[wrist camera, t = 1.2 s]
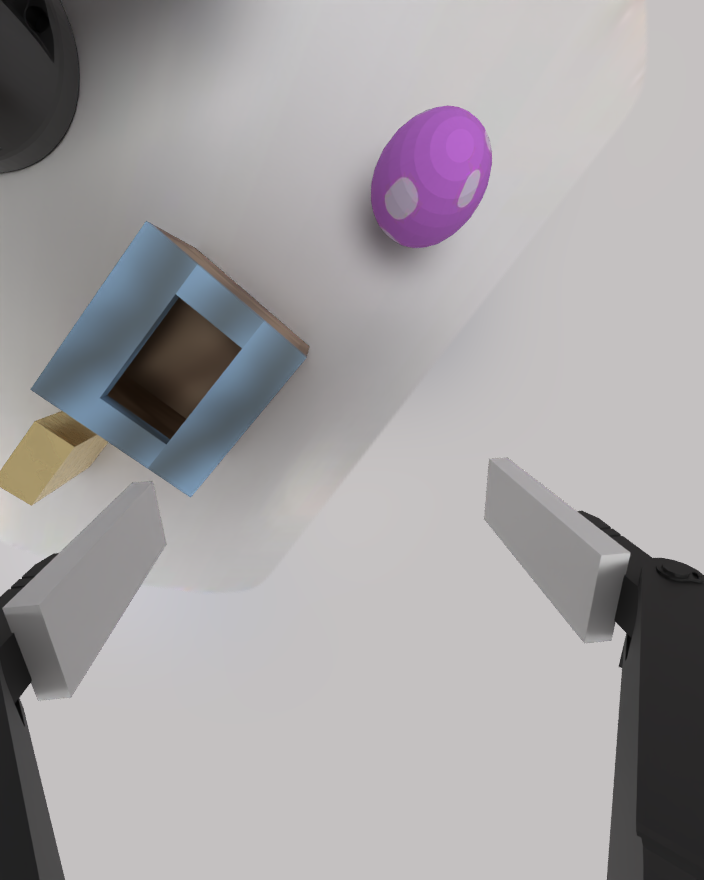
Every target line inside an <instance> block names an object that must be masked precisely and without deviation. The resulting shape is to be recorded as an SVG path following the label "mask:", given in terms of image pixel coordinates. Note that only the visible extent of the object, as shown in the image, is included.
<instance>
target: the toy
mask: <svg viewBox="0 0 704 880" xmlns="http://www.w3.org/2000/svg"><path fill="white" fill-rule="evenodd" d="M491 166H492V150H491V145H490V140H489V137H488V135H487V133H486V131H485V128H484V127H483V125H482V124H481V122H480V121H479V120H478V119H477V118H476V117H475V116H474V115H472V114H471V113H470V112H469V111H466V110H464V109H462V108H459V107H454V106H442V107H436V108H432V109H428V110H426V111H424V112H422V113H420V114H418V115H416V116H415V117H413V118H412V119H411V120H409V121H408V122H407V123H406V124H404V125H403V126H402V127H401V128H400V129H398V131H397V132H396V133H395V135H394V136H393V137H392V139H391V140H390V141H389V143H388V144H387V145H386V147H385V148H384V150H383V152H382V154H381V156H380V158H379V160H378V163H377V165H376V167H375V170H374V175H373V179H372V185H371V202H372V208H373V213H374V215H375V217H376V220H377V222H378V224H379V226H380V227H381V228H382V230H383V231H384V233H385V234H386V235H387V236H389V237H390V238H391V239H392V240H393V241H395V242H397V243H399V244H401V245H403V246H407V247H412V248H421V247H428V246H431V245H435V244H438V243H440V242H441V241H443V240H445V239H446V238H448V237H450V236H451V235H453V234H454V233H455V232H457V231H458V230H459V229H460V228H461V227H462V226H463V225H464V224H465V223H466V222H467V221H468V220H469V218H470V217H471V216H472V214H473V213H474V211H475V210H476V208H477V207H478V205H479V203H480V201H481V200H482V198H483V195H484V193H485V190H486V188H487V185H488V180H489V176H490V171H491Z"/></svg>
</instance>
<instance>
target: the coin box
mask: <svg viewBox="0 0 704 880" xmlns="http://www.w3.org/2000/svg"><path fill="white" fill-rule="evenodd" d="M308 350H309V346H308V345H307V344H306V343H305V342H304V341H302V340H301V339H300V338H299V337H298V336H297V335H295V334H294V333H293V332H292V331H291V330H290V329H288V328H287V327H286V326H285V325H284V324H283V323H282V322H280V321H279V320H278V319H277V318H276V317H275V316H273V315H272V314H271V313H270V312H269V311H268V310H266V309H265V308H264V307H263V306H262V305H261V304H260V303H258V302H257V301H256V300H255V299H254V298H253V297H251V296H250V295H249V294H248V293H247V292H246V291H245V290H243V289H242V288H241V287H240V286H239V285H238V284H236V283H235V282H234V281H233V280H232V279H231V278H229V277H228V276H227V275H226V274H225V273H224V272H223V271H221V270H220V269H219V268H218V267H217V266H216V265H214V264H213V263H212V262H211V261H210V260H209V259H207V258H206V257H205V256H204V255H203V254H202V253H201V252H199V251H198V250H197V249H196V248H194V247H192V246H191V245H189V244H187V243H185V242H183V241H181V240H180V239H178V238H176V237H174V236H172V235H171V234H169V233H167V232H165V231H163V230H162V229H160V228H158V227H156V226H154V225H153V224H151V223H149V222H147V221H146V222H145V224H144V225H143V226H142V228H141V229H140V231H139V232H138V234H137V235H136V237H135V238H134V240H133V241H132V242H131V244H130V245H129V247H128V248H127V250H126V251H125V253H124V254H123V256H122V257H121V258H120V260H119V261H118V263H117V264H116V266H115V267H114V269H113V270H112V272H111V273H110V274H109V276H108V277H107V279H106V280H105V282H104V283H103V285H102V286H101V288H100V289H99V290H98V292H97V293H96V295H95V296H94V298H93V299H92V301H91V302H90V304H89V305H88V306H87V308H86V309H85V311H84V312H83V314H82V315H81V317H80V318H79V320H78V321H77V323H76V324H75V325H74V327H73V328H72V330H71V331H70V333H69V334H68V336H67V337H66V339H65V340H64V341H63V343H62V344H61V346H60V347H59V349H58V350H57V352H56V353H55V355H54V356H53V357H52V359H51V360H50V362H49V363H48V365H47V366H46V368H45V369H44V371H43V372H42V373H41V375H40V376H39V378H38V379H37V381H36V382H35V384H34V385H33V387H32V388H31V389H30V390H32V391H33V392H35V393H36V394H38V395H39V396H41V397H42V398H44V399H45V400H47V401H48V402H50V403H51V404H53V405H54V406H56V407H57V408H59V409H60V410H62V411H63V412H65V413H66V414H68V415H69V416H70V417H72V418H73V419H75V420H76V421H78V422H79V423H81V424H82V425H84V426H85V427H87V428H88V429H90V430H91V431H93V432H94V433H96V434H97V435H99V436H100V437H102V438H103V439H105V440H106V441H108V442H109V443H111V444H112V445H114V446H115V447H117V448H118V449H120V450H121V451H122V452H124V453H125V454H127V455H128V456H130V457H131V458H133V459H134V460H136V461H137V462H139V463H140V464H142V465H143V466H145V467H146V468H148V469H149V470H151V471H152V472H154V473H155V474H157V475H158V476H160V477H161V478H163V479H164V480H166V481H167V482H169V483H170V484H172V485H173V486H174V487H176V488H177V489H179V490H180V491H182V492H183V493H185V494H186V495H188V496H189V497H191V496H192V495H193V494H194V493H195V492H196V490H197V489H198V488H199V487H200V486H201V484H202V483H203V482H204V481H205V480H206V478H207V477H208V476H209V475H210V474H211V472H212V471H213V470H214V469H215V467H216V466H217V465H218V464H219V463H220V461H221V460H222V459H223V458H224V457H225V455H226V454H227V453H228V452H229V451H230V449H231V448H232V447H233V446H234V445H235V443H236V442H237V441H238V440H239V439H240V437H241V436H242V435H243V434H244V433H245V431H246V430H247V429H248V428H249V426H250V425H251V424H252V423H253V422H254V420H255V419H256V418H257V417H258V416H259V414H260V413H261V412H262V411H263V410H264V408H265V407H266V406H267V405H268V404H269V402H270V401H271V400H272V399H273V398H274V396H275V395H276V394H277V393H278V392H279V390H280V389H281V388H282V387H283V385H284V384H285V383H286V382H287V381H288V379H289V378H290V377H291V376H292V375H293V373H294V372H295V371H296V370H297V369H298V367H299V366H300V365H301V364H302V363H303V361H304V360H305V359H306V358H307V354H308Z"/></svg>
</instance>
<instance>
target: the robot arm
mask: <svg viewBox="0 0 704 880" xmlns="http://www.w3.org/2000/svg"><path fill="white" fill-rule="evenodd" d="M78 89H79V66H78V57H77V50H76V45H75V41H74V37H73V33H72V30H71V27H70V24H69V21H68V18H67V16H66V13H65V11H64V9H63V6H62V4H61V2H60V0H0V172H9V171H14V170H18V169H22V168H25V167H27V166H29V165H32V164H34V163H35V162H37V161H39V160H40V159H42V158H43V157H45V156H46V155H47V154H48V153H50V152H51V151H52V150H53V149H54V148H55V147H56V145H57V144H58V143H59V142H60V140H61V139H62V137H63V136H64V134H65V133H66V131H67V129H68V127H69V125H70V123H71V120H72V117H73V114H74V111H75V107H76V103H77V98H78ZM484 519H485V521H486V522H487V523H488V524H489V526H490V527H491V528H492V529H493V531H494V532H495V533H496V534H497V536H498V537H499V538H500V539H501V540H502V541H503V543H504V544H505V546H506V547H507V548H508V549H509V551H510V552H511V553H512V554H513V555H514V557H515V558H516V559H517V560H518V561H519V563H520V564H521V565H522V567H523V568H524V569H525V570H526V571H527V573H528V574H529V575H530V577H531V578H532V579H533V580H534V582H535V583H536V584H537V585H538V586H539V588H540V589H541V590H542V591H543V593H544V594H545V595H546V596H547V598H548V599H549V600H550V601H551V603H552V604H553V605H554V606H555V608H556V609H557V610H558V611H559V613H560V614H561V615H562V616H563V617H564V619H565V620H566V621H567V622H568V624H569V625H570V626H571V627H572V629H573V630H574V631H575V632H576V634H577V635H578V636H579V637H580V639H581V640H582V641H583V642H584V643H593V642H602V641H611V640H612V635H613V631H614V626H615V622H616V623H617V624H618V625H619V626H620V627H621V628H622V629H623V630H624V631H625V632H626V638H625V642H624V646H623V651H622V655H621V659H620V664H619V667H621V668H622V678H621V692H620V707H619V720H618V733H617V747H616V762H615V776H614V789H613V803H612V817H611V830H610V845H609V858H608V859H609V860H608V872H607V880H704V575H702V573H700V572H699V571H698V570H696V569H694V568H692V567H690V566H688V565H686V564H684V563H681V562H677V561H675V560H670V559H665V558H652V557H650V556H649V555H648V554H646V553H645V552H643V551H642V550H641V549H640V548H638V547H637V546H636V545H634V544H633V543H631V542H630V541H629V540H627V539H626V538H625V537H623V536H621V535H620V534H619V533H618V532H616V531H615V530H614V529H611V527H610V526H608V525H607V524H606V523H604V522H603V521H602V520H600V519H599V518H597V517H595V516H593V515H590V514H588V513H586V512H583V511H576V510H574V509H573V508H572V507H571V506H569V505H568V504H567V503H565V502H564V501H563V500H562V499H560V498H559V497H558V496H556V495H555V494H554V493H553V492H551V491H550V490H549V489H547V488H546V487H545V486H544V485H542V484H541V483H540V482H538V481H537V480H536V479H535V478H533V477H532V476H531V475H529V474H528V473H527V472H525V471H524V470H523V469H522V468H520V467H519V466H517V465H516V464H515V463H514V462H513V461H511V460H510V459H509V458H492V459H489V466H488V478H487V491H486V504H485V516H484ZM165 546H166V540H165V535H164V530H163V526H162V521H161V516H160V511H159V507H158V502H157V497H156V493H155V488H154V483H153V481H151V482H136V483H131V484H130V485H129V486H128V487H127V488H126V489H125V490H124V491H123V492H122V493H121V494H120V495H119V496H118V497H117V498H116V499H115V500H114V501H113V502H112V503H111V504H110V505H109V506H108V507H107V508H105V509H104V510H103V511H102V512H101V513H100V514H99V515H98V516H97V517H96V518H95V519H94V520H93V521H92V522H91V523H90V524H89V525H88V526H87V527H86V528H85V529H84V530H83V531H82V532H81V533H80V534H79V535H77V536H76V537H75V538H74V539H73V540H72V541H71V542H70V543H69V544H68V545H67V546H66V547H65V548H64V549H63V550H62V551H61V552H60V553H57V554H52V555H51V556H49V557H47V558H46V559H44V560H42V561H41V562H39V563H37V564H35V565H34V566H33V567H32V568H31V569H30V570H29V571H28V572H27V573H26V574H25V575H23V577H22V579H19V580H18V581H17V582H16V583H15V584H14V585H13V586H12V587H11V589H9V590H7V591H6V592H5V593H4V594H3V595H2V596H1V597H0V880H65V878H64V874H63V870H62V865H61V861H60V857H59V853H58V849H57V845H56V841H55V837H54V832H53V828H52V824H51V820H50V816H49V812H48V808H47V804H46V799H45V795H44V791H43V787H42V783H41V779H40V775H39V770H38V766H37V762H36V758H35V754H34V750H33V746H32V742H31V738H30V733H29V729H28V725H27V721H26V717H25V713H24V709H23V706H22V704H21V701H20V699H19V697H20V696H21V695H22V693H23V692H24V690H25V689H26V688H27V687H28V685H29V684H30V683H31V684H32V686H33V689H34V692H35V694H36V697H37V700H38V701H41V700H50V699H60V698H70V697H72V695H73V694H74V692H75V690H76V689H77V687H78V685H79V684H80V682H81V681H82V679H83V678H84V676H85V674H86V673H87V671H88V669H89V668H90V666H91V665H92V663H93V661H94V660H95V658H96V657H97V655H98V653H99V652H100V650H101V649H102V647H103V645H104V643H105V642H106V641H107V639H108V637H109V636H110V634H111V633H112V631H113V629H114V628H115V626H116V624H117V623H118V621H119V620H120V618H121V616H122V615H123V613H124V612H125V610H126V608H127V607H128V605H129V603H130V602H131V600H132V599H133V597H134V595H135V594H136V592H137V591H138V589H139V588H140V586H141V584H142V583H143V581H144V580H145V578H146V576H147V575H148V573H149V571H150V570H151V568H152V567H153V565H154V563H155V562H156V560H157V559H158V557H159V555H160V554H161V552H162V551H163V549H164V547H165Z"/></svg>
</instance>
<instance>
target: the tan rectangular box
mask: <svg viewBox="0 0 704 880" xmlns="http://www.w3.org/2000/svg"><path fill="white" fill-rule="evenodd" d="M107 443H108V441H106V440H105V439H103V438H102V437H100V436H99V435H97V434H96V433H94V432H93V431H91V430H90V429H88V428H87V427H85V426H84V425H82V424H81V423H79V422H78V421H76V420H75V419H73V418H72V417H70V416H69V415H68V414H66V413H65V412H63V411H61V412H58V413H56V414H53V415H50V416H48V417H45V418H42V419H40V420H37V421H35V422H34V423H33V425H32V426H31V428H30V429H29V430H28V432H27V433H26V435H25V436H24V438H23V439H22V440H21V442H20V443H19V445H18V446H17V448H16V449H15V450H14V452H13V453H12V455H11V456H10V458H9V459H8V460H7V462H6V463H5V465H4V466H3V467H2V469H1V470H0V487H1V488H3V489H4V490H6V491H8V492H9V493H11V494H13V495H14V496H16V497H18V498H19V499H21V500H23V501H25V502H26V503H28V504H30V505H31V506H32V505H33V504H35V503H36V502H38V501H39V500H41V499H42V498H44V497H45V496H47V495H48V494H50V493H51V492H53V491H54V490H56V489H57V488H59V487H60V486H62V485H63V484H65V483H66V482H68V481H69V480H71V479H72V478H74V477H75V476H77V475H78V474H80V473H81V472H83V471H84V470H86V469H87V468H89V467H90V466H91V464H92V463H93V462H94V460H95V459H96V458H97V456H98V455H99V454H100V452H101V451H102V450H103V448H104V447H105V446H106V444H107Z"/></svg>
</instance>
